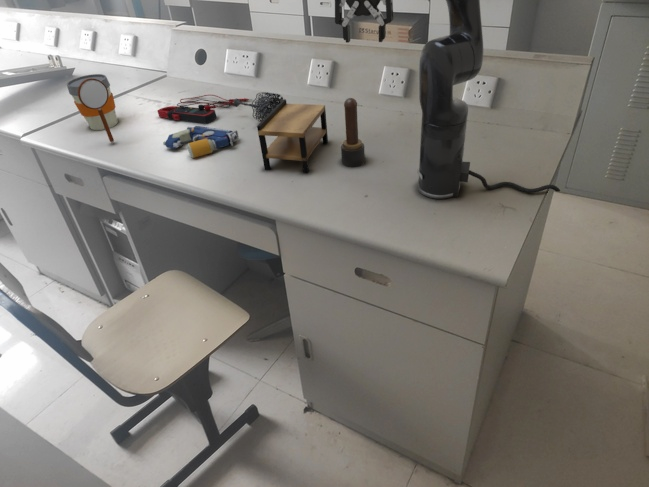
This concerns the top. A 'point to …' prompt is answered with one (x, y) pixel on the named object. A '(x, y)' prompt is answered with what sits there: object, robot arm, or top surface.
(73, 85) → the reusable coffee cup
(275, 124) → the tan black-edged stand
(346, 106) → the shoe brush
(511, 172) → the top surface
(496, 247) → the top surface
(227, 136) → the spray gun
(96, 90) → the magnifying glass
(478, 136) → the top surface
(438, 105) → the robot arm
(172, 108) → the digital clamp meter
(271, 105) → the massage brush
